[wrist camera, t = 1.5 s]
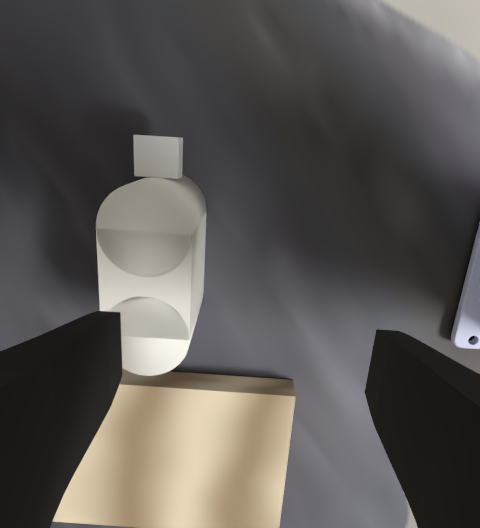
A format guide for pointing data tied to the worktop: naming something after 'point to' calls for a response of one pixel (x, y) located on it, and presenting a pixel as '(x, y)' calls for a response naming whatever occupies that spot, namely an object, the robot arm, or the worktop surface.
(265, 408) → the birch board
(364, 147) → the worktop surface
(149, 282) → the capped bottle
